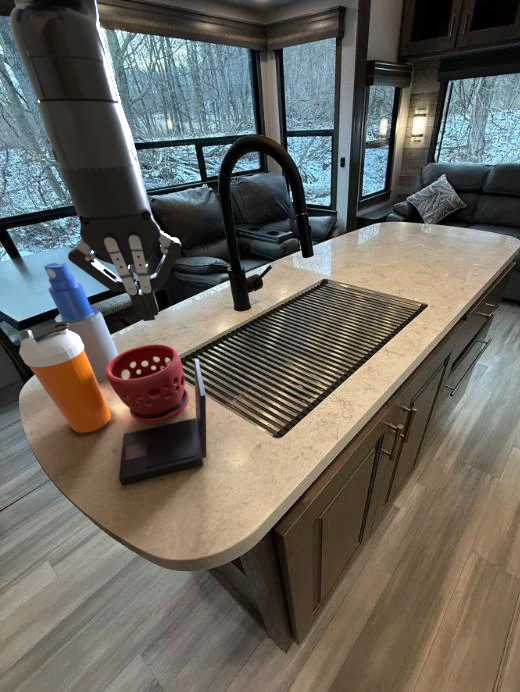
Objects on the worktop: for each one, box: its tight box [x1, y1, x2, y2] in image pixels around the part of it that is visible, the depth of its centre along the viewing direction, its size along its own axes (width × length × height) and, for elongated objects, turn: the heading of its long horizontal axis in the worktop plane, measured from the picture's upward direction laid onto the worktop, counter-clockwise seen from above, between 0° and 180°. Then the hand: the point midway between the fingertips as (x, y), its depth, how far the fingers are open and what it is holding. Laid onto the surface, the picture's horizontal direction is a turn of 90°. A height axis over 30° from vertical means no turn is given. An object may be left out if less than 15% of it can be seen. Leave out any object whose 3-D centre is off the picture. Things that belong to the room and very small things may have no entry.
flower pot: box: [106, 343, 190, 424], centre depth 65 cm, size 13×13×12 cm
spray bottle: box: [43, 262, 119, 382], centre depth 73 cm, size 9×9×25 cm
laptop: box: [118, 417, 204, 487], centre depth 59 cm, size 13×11×2 cm
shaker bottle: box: [18, 322, 112, 434], centre depth 60 cm, size 9×9×20 cm
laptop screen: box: [193, 358, 207, 459], centre depth 56 cm, size 13×11×1 cm
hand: (149, 318), depth 45 cm, fingers closed
